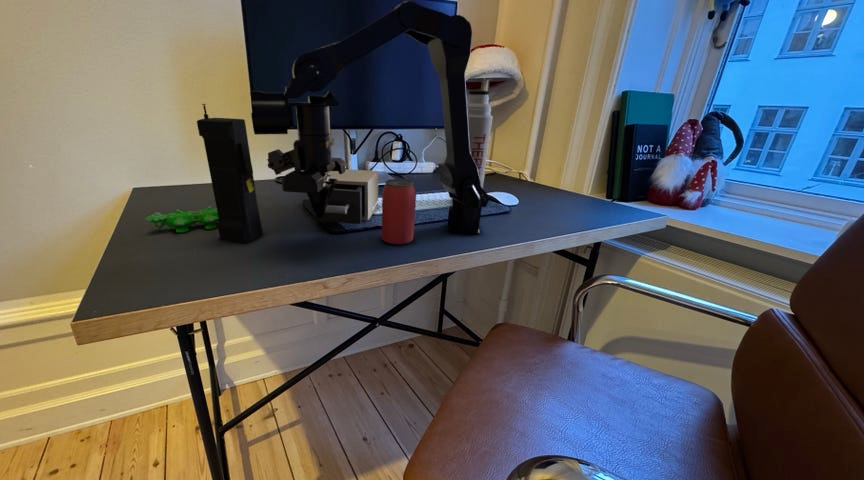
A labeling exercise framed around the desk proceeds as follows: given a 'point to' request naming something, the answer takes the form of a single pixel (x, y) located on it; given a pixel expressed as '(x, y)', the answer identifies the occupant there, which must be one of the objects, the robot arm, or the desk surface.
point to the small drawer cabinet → (361, 179)
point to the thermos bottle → (479, 128)
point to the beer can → (398, 211)
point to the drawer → (345, 204)
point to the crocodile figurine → (185, 219)
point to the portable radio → (231, 177)
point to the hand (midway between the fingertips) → (319, 217)
